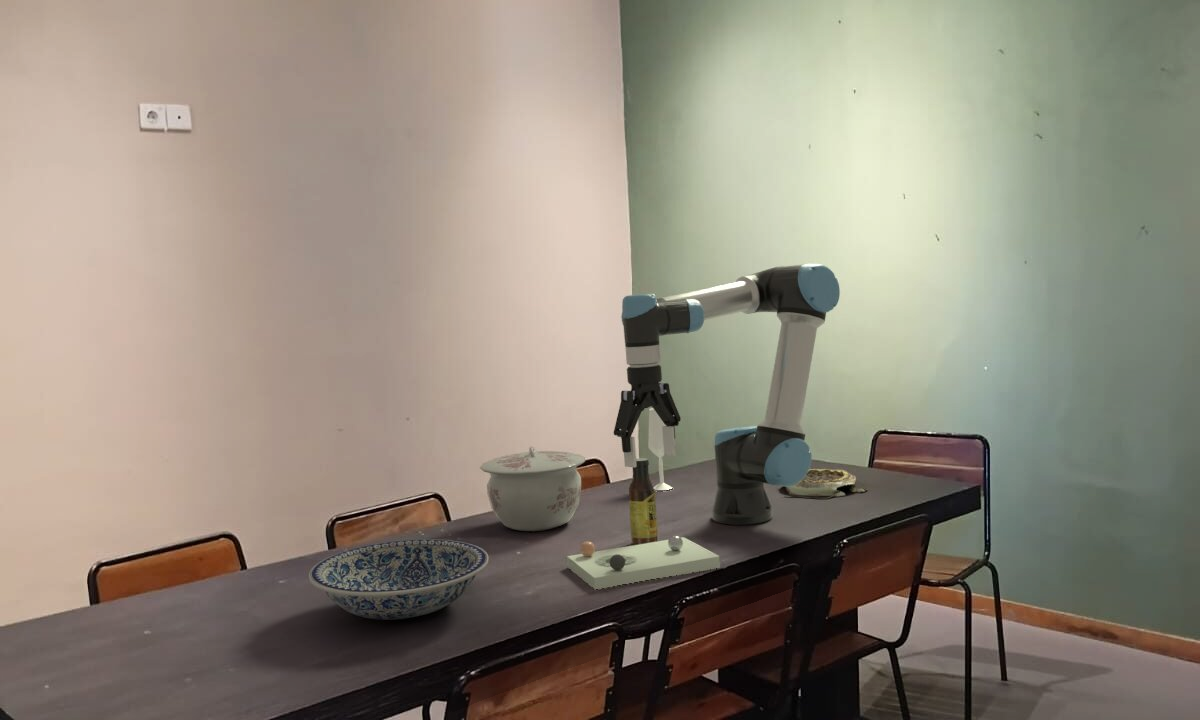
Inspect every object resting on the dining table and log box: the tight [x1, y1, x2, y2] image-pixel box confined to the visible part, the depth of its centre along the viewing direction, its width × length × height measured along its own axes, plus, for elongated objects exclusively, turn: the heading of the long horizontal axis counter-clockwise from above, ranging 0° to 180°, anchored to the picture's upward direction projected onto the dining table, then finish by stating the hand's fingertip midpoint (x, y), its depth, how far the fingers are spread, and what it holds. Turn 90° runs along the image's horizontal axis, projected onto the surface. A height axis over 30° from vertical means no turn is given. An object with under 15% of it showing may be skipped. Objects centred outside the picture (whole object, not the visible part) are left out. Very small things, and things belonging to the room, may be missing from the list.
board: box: [566, 536, 721, 591], centre depth 204 cm, size 28×18×2 cm, turn 110°
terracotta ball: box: [580, 540, 596, 556], centre depth 207 cm, size 3×3×3 cm
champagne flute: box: [647, 407, 673, 490], centre depth 281 cm, size 7×7×24 cm
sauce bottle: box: [628, 457, 658, 545], centre depth 223 cm, size 7×6×20 cm
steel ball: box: [668, 535, 683, 551], centre depth 207 cm, size 3×3×3 cm
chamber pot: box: [479, 446, 586, 532], centre depth 248 cm, size 28×28×21 cm
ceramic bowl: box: [308, 538, 489, 621], centre depth 186 cm, size 34×34×10 cm
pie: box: [780, 468, 870, 500], centre depth 270 cm, size 28×27×5 cm
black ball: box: [610, 554, 625, 570], centre depth 195 cm, size 3×3×3 cm
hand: (650, 460), depth 210 cm, fingers open, 13 cm apart
